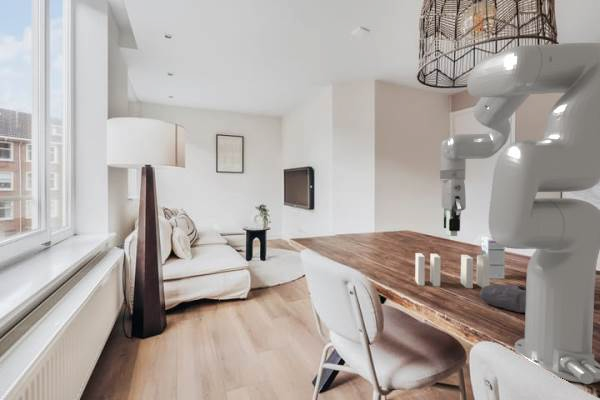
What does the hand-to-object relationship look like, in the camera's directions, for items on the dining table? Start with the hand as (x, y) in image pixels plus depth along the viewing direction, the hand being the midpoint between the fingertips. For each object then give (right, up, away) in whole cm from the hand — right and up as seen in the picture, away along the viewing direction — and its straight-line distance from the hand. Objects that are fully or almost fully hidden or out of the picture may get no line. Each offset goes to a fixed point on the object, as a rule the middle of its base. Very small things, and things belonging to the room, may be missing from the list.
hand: (451, 229), depth 96 cm
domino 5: (+10, -19, -1) cm, 22 cm away
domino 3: (0, -2, 0) cm, 2 cm away
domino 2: (-5, -19, +2) cm, 20 cm away
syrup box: (+20, -19, +9) cm, 29 cm away
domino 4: (+5, -19, 0) cm, 20 cm away
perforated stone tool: (+6, -21, -19) cm, 28 cm away
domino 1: (-10, -19, +3) cm, 22 cm away
